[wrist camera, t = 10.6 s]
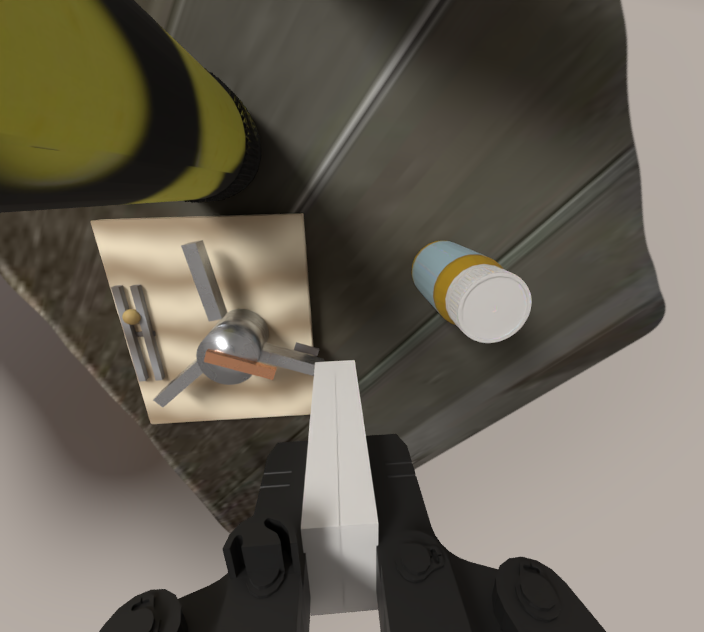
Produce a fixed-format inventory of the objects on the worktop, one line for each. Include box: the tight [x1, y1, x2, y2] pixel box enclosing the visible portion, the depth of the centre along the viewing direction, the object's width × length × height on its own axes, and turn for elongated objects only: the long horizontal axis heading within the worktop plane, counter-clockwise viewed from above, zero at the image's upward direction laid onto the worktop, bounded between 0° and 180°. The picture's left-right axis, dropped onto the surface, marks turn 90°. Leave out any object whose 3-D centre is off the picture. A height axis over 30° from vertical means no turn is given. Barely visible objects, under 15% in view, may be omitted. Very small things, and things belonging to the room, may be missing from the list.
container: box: [0, 0, 261, 213], centre depth 20 cm, size 11×11×30 cm
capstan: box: [153, 240, 324, 407], centre depth 36 cm, size 17×20×7 cm
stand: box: [91, 213, 319, 424], centre depth 40 cm, size 26×23×4 cm
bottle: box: [411, 241, 531, 343], centre depth 34 cm, size 7×7×15 cm
